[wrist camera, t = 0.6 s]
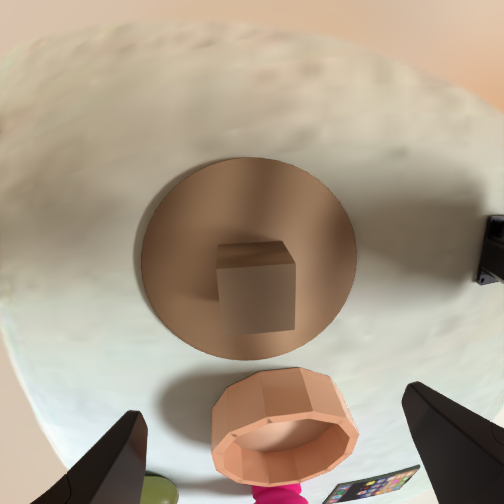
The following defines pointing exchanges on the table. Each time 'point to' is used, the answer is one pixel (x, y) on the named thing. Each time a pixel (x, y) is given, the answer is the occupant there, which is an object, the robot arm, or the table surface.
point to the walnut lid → (248, 259)
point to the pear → (158, 491)
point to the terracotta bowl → (281, 428)
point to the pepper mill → (278, 494)
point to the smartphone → (371, 486)
